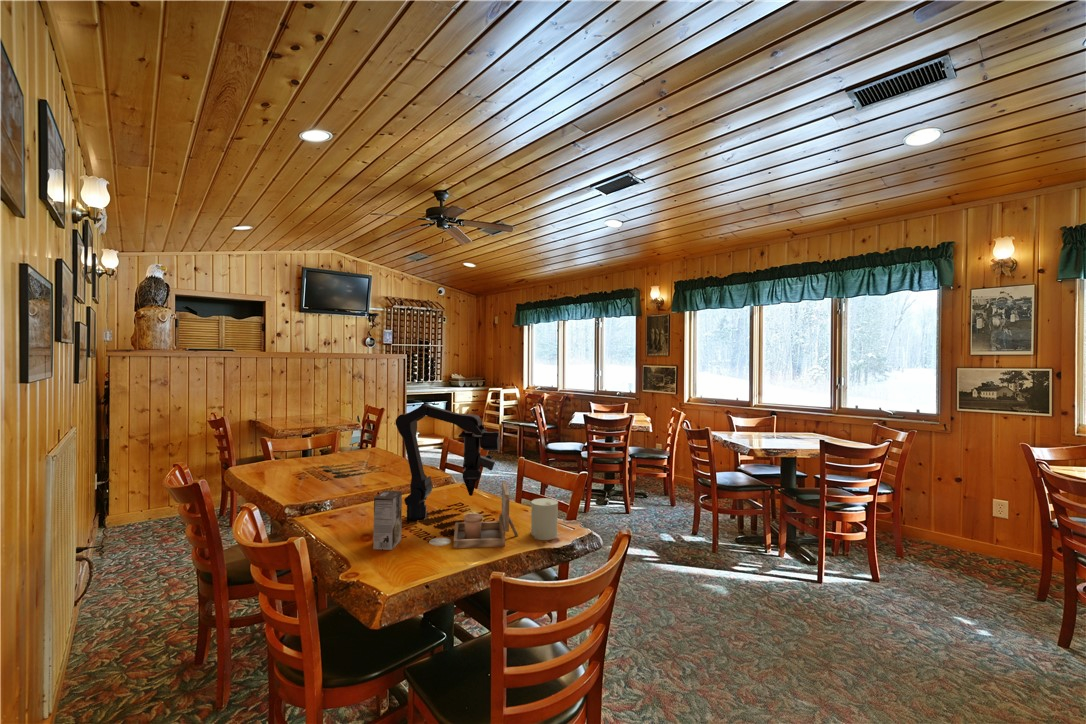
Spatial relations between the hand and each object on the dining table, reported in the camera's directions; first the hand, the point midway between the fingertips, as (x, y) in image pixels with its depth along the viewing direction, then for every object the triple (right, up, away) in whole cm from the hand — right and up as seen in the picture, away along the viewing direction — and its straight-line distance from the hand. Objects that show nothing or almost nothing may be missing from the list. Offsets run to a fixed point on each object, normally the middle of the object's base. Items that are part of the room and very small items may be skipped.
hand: (470, 492), depth 187 cm
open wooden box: (+8, -11, -18) cm, 22 cm away
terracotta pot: (+3, -10, -18) cm, 21 cm away
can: (+27, -12, -13) cm, 32 cm away
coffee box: (-23, -11, -24) cm, 35 cm away
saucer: (-7, -11, -23) cm, 26 cm away
